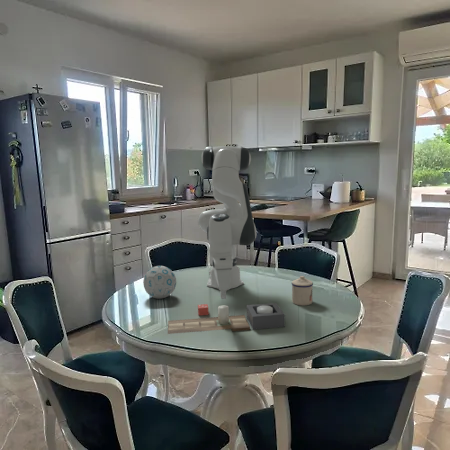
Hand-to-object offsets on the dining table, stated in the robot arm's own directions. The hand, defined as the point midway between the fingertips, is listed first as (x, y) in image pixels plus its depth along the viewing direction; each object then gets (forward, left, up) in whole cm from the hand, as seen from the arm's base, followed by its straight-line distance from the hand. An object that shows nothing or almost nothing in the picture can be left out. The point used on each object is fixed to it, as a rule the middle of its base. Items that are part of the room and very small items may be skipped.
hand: (221, 293), depth 143 cm
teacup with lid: (-18, +37, -13) cm, 43 cm away
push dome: (+1, +16, -10) cm, 19 cm away
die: (-10, -7, -12) cm, 17 cm away
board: (+1, -6, -12) cm, 14 cm away
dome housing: (+1, +16, -12) cm, 20 cm away
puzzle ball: (-36, -25, -13) cm, 46 cm away
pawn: (0, 0, -11) cm, 11 cm away
